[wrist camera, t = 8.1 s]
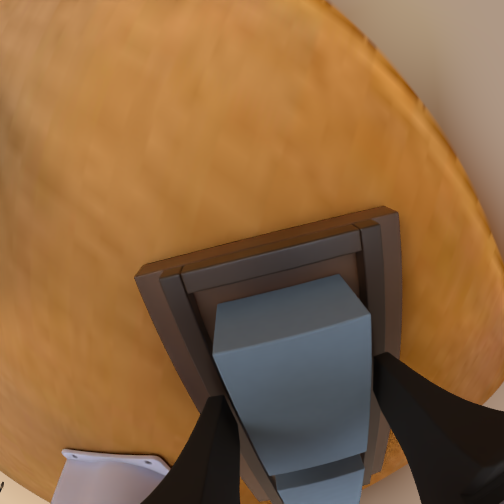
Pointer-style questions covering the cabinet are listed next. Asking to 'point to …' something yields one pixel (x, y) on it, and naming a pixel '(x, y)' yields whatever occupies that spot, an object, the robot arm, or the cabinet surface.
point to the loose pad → (298, 372)
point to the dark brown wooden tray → (269, 279)
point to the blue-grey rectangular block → (323, 483)
